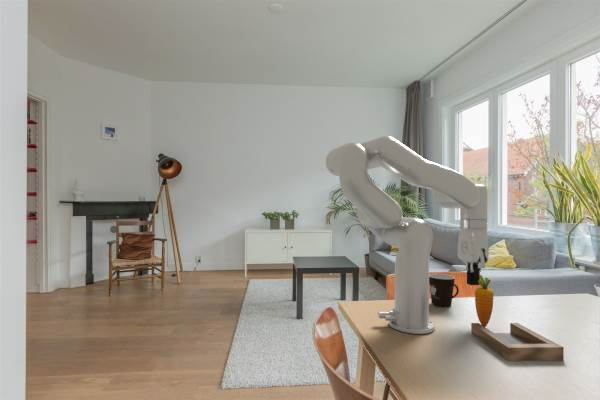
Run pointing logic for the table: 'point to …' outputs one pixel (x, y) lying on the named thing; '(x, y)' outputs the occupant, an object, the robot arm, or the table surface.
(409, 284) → the robot arm
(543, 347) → the rest
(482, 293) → the carrot
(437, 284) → the coffee mug
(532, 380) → the table surface
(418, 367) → the table surface
